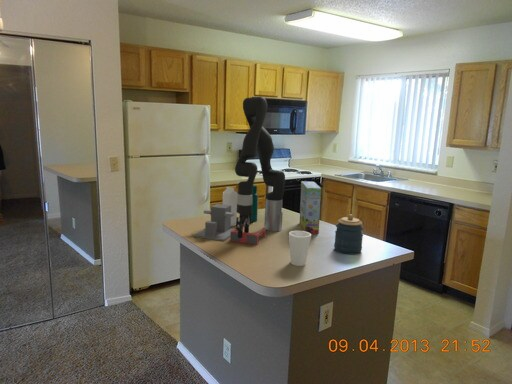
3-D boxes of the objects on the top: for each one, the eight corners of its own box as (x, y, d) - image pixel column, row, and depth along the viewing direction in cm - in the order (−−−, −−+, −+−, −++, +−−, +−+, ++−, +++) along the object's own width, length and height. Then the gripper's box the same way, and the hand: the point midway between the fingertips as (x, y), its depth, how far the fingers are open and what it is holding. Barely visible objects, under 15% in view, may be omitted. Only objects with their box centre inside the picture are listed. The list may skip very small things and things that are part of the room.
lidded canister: (328, 248, 183) (330, 213, 180) (345, 244, 191) (348, 210, 188) (349, 256, 173) (353, 219, 170) (367, 251, 181) (370, 215, 178)
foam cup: (294, 268, 157) (296, 238, 154) (283, 260, 165) (284, 231, 162) (313, 265, 161) (315, 235, 159) (301, 258, 169) (303, 229, 167)
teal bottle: (241, 218, 233) (242, 183, 229) (254, 218, 235) (256, 183, 231) (244, 222, 224) (245, 186, 220) (258, 222, 226) (260, 186, 222)
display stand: (224, 241, 188) (224, 213, 186) (193, 236, 194) (193, 209, 191) (238, 231, 206) (239, 206, 203) (210, 227, 211) (210, 202, 209)
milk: (228, 227, 214) (230, 188, 209) (221, 224, 218) (222, 186, 213) (236, 225, 218) (237, 187, 214) (229, 223, 222) (230, 185, 218)
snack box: (297, 223, 228) (300, 180, 223) (312, 223, 228) (315, 181, 223) (303, 233, 206) (306, 187, 202) (319, 234, 207) (322, 187, 202)
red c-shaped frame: (256, 245, 184) (257, 235, 183) (229, 241, 189) (230, 231, 188) (265, 237, 197) (265, 227, 197) (240, 233, 202) (240, 224, 201)
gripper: (246, 206, 176) (245, 240, 179) (256, 201, 189) (255, 233, 192) (231, 204, 179) (230, 238, 181) (242, 200, 192) (241, 231, 195)
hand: (243, 235), depth 187 cm, fingers open, 8 cm apart
